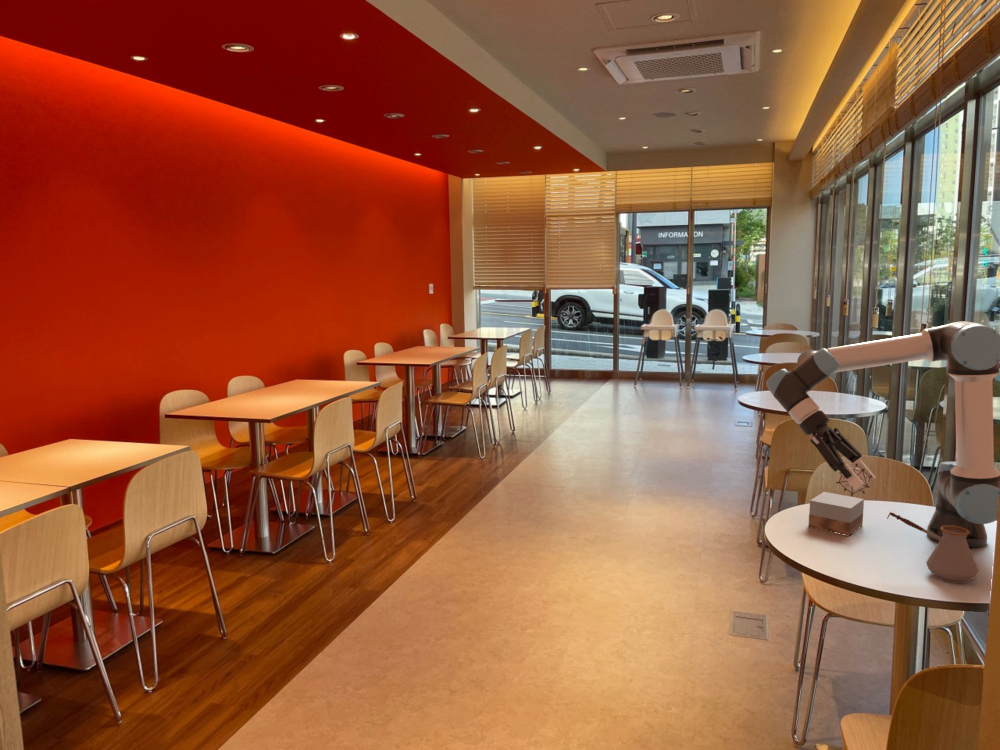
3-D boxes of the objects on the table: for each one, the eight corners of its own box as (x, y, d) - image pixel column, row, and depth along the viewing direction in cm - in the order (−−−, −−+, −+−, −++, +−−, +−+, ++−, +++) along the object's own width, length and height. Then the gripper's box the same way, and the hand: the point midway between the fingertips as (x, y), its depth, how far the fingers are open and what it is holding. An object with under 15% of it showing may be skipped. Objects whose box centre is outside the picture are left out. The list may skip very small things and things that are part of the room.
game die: (860, 508, 204) (882, 485, 197) (831, 497, 204) (851, 474, 197) (856, 484, 210) (877, 462, 204) (828, 474, 210) (847, 451, 204)
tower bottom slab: (862, 527, 231) (863, 513, 230) (848, 537, 223) (849, 522, 222) (822, 518, 239) (823, 505, 239) (808, 528, 231) (809, 514, 230)
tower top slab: (863, 513, 230) (863, 499, 230) (850, 522, 222) (850, 508, 221) (823, 505, 239) (824, 491, 238) (809, 514, 230) (810, 500, 229)
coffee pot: (977, 574, 194) (982, 518, 192) (977, 590, 184) (982, 532, 182) (885, 558, 205) (889, 505, 203) (881, 572, 196) (885, 517, 194)
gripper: (815, 419, 220) (869, 483, 210) (783, 430, 206) (839, 499, 196) (834, 404, 215) (890, 468, 206) (802, 414, 201) (861, 483, 192)
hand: (865, 483), depth 201 cm, fingers closed on game die, 8 cm apart
